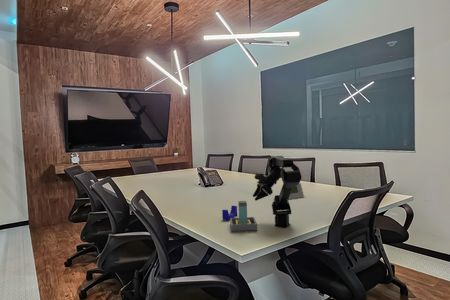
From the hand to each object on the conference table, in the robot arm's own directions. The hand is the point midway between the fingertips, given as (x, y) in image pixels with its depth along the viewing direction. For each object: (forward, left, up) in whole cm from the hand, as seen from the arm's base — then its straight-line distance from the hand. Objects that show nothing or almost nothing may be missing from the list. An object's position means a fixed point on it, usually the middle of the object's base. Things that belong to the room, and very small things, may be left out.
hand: (254, 198), depth 163 cm
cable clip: (+18, -2, -14) cm, 23 cm away
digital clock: (+9, -68, -14) cm, 70 cm away
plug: (+1, +10, -13) cm, 16 cm away
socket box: (+1, +10, -14) cm, 17 cm away
